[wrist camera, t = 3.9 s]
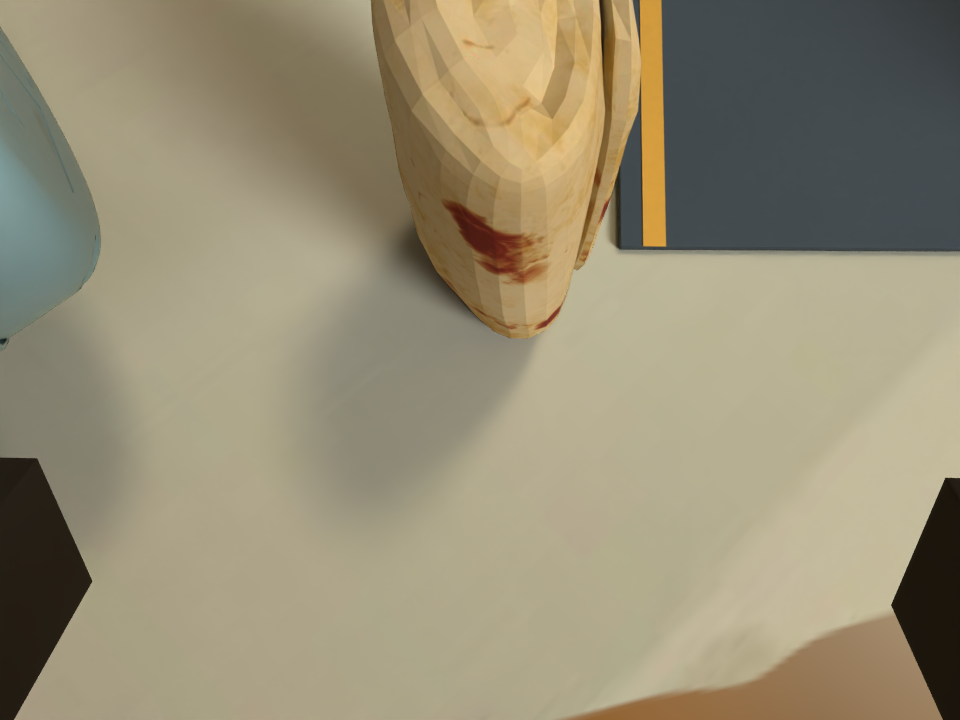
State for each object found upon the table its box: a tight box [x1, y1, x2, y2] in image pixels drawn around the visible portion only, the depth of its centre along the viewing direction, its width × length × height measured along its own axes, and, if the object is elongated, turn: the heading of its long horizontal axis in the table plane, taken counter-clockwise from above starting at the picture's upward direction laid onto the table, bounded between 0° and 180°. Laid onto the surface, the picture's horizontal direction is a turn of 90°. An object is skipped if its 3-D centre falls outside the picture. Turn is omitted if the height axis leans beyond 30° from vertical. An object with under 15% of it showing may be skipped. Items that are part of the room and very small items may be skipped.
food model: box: [371, 0, 642, 339], centre depth 26 cm, size 10×7×20 cm
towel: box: [619, 0, 960, 251], centre depth 36 cm, size 18×14×1 cm
